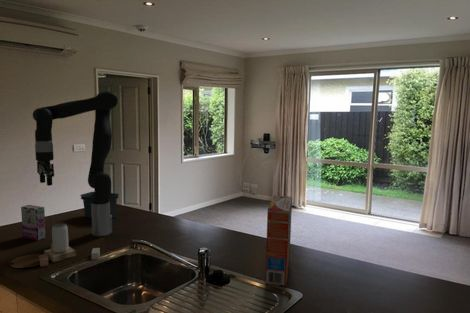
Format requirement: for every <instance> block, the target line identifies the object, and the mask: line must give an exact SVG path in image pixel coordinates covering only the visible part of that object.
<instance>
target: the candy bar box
mask: <svg viewBox="0 0 470 313" xmlns="http://www.w3.org/2000/svg"><path fill="white" fill-rule="evenodd" d="M20 209H21V210H20V212H21V225H22V226H21V228H22V229H21V230H22V238H23V239H29V240H34V241H40V240H44V239H46V238H47V235H46V234H47V233H46V219H45V218H46V215H45V206H39V205H32V204H27V205H23V206H21V207H20Z"/></svg>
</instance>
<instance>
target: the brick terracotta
mask: <svg viewBox="0 0 470 313" xmlns="http://www.w3.org/2000/svg"><path fill="white" fill-rule="evenodd" d="M38 260H39V261H40V262H39V266H40V267H45V266H49V259H48V256H47V254H44V253H43V254H39V255H38Z"/></svg>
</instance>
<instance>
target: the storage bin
mask: <svg viewBox="0 0 470 313" xmlns="http://www.w3.org/2000/svg"><path fill="white" fill-rule="evenodd" d="M119 195H120V194H119V193H115V192H111V197H110V215H111V216H112V219H113V218H115V217H116V216H117V200H118V199H119V198H120V197H119ZM79 196H80V200H82V203H83V210H84V218H86V219H87V218H88V219H92V213H91V198H92V197H93V196H94V191H89V192H87V193H86V192H85V193H82V194H80V195H79Z"/></svg>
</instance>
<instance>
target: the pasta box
mask: <svg viewBox="0 0 470 313" xmlns="http://www.w3.org/2000/svg"><path fill="white" fill-rule="evenodd" d="M292 206H293V196H287V195H285V196H283V195H273V196H272V199H271V201H270V203H269V205H268V208H267V213H266V214H267V217H266V218H267V219H266V248H265V249H266V251H265V253H266V254H265V276H264V278H265V279H264V281H265V283H268V284H267V285H270V284H275V285H274V286H279V285H283V286H282V287H287V281H288V275H289V268H290V259H291V258H290V256H291V236H292V235H291V231H292V210H293V207H292ZM265 283H264V284H265Z"/></svg>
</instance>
